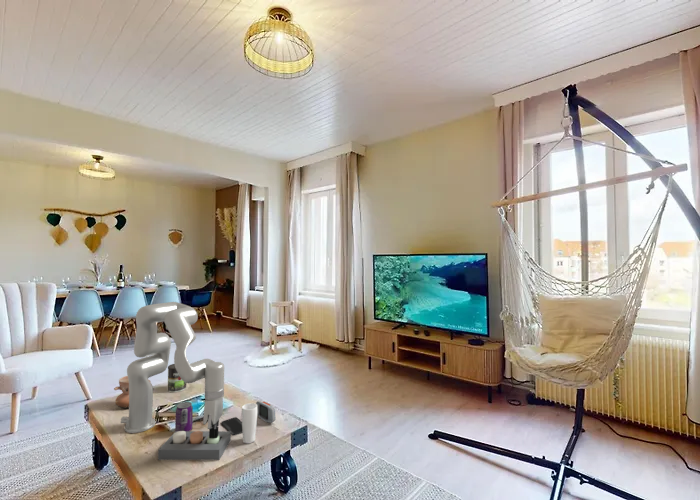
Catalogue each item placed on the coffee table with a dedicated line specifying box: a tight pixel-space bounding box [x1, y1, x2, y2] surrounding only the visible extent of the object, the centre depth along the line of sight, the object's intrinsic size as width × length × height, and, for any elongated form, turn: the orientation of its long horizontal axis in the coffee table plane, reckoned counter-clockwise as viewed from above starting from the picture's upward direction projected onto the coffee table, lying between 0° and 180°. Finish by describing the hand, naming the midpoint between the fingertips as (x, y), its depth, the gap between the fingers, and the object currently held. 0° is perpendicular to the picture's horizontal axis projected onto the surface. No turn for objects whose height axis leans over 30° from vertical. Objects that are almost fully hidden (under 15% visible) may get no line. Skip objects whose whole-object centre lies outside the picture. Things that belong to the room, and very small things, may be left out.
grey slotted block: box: [157, 430, 232, 461], centre depth 142 cm, size 24×14×4 cm, turn 91°
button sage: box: [207, 435, 220, 444], centre depth 142 cm, size 5×5×4 cm
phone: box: [220, 416, 243, 436], centre depth 161 cm, size 8×1×15 cm
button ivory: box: [172, 431, 186, 444], centre depth 142 cm, size 5×5×4 cm
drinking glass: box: [240, 402, 258, 444], centre depth 150 cm, size 7×7×15 cm
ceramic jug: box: [113, 375, 152, 408], centre depth 184 cm, size 18×14×14 cm
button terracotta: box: [190, 430, 203, 444], centre depth 142 cm, size 5×5×4 cm
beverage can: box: [174, 401, 194, 432], centre depth 157 cm, size 7×7×12 cm
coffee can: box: [167, 363, 187, 393], centre depth 204 cm, size 10×10×14 cm
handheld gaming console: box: [255, 400, 276, 423], centre depth 169 cm, size 14×3×8 cm, turn 49°
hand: (213, 437), depth 142 cm, fingers closed
